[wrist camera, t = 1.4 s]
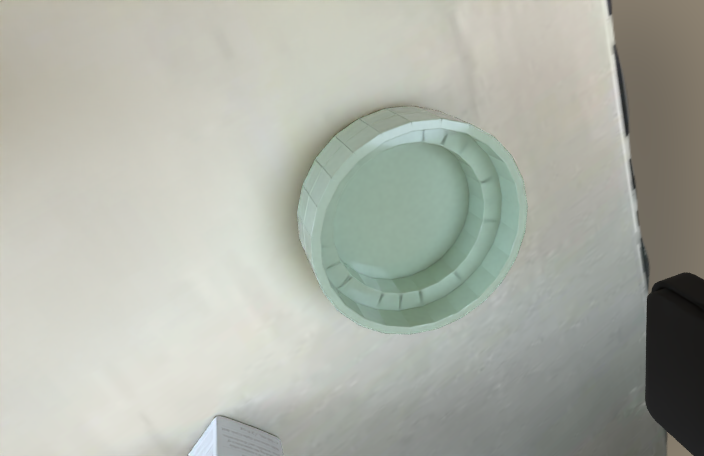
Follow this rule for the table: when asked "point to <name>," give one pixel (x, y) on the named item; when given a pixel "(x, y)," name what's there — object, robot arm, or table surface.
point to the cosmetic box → (235, 440)
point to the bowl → (411, 219)
